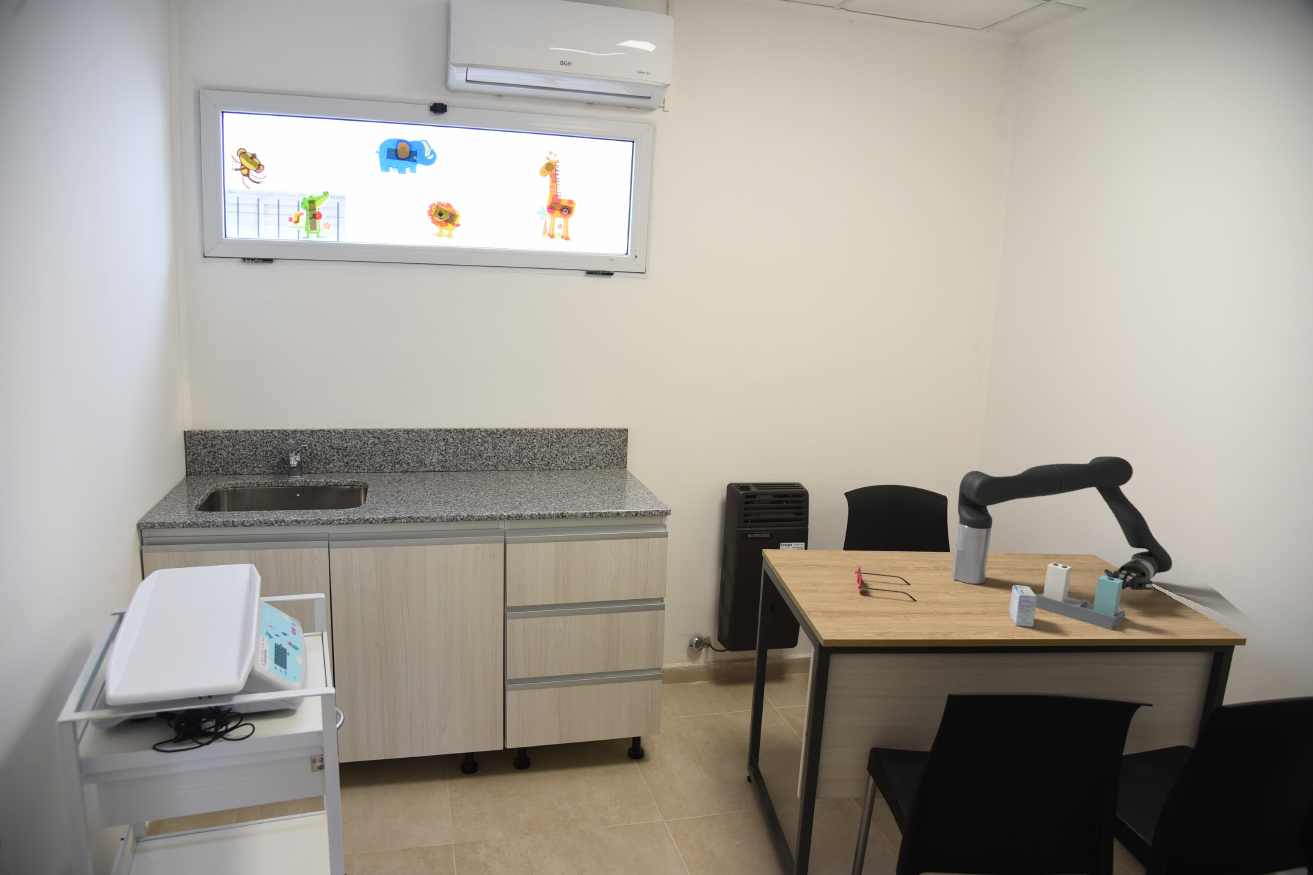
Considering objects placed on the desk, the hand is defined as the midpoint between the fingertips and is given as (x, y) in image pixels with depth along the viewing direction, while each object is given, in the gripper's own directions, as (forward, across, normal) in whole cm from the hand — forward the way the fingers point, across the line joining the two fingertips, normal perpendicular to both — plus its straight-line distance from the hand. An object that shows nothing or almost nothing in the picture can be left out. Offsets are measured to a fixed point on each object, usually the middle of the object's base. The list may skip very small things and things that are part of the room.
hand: (1118, 586), depth 221 cm
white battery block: (+9, -13, +6) cm, 17 cm away
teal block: (+9, 0, +6) cm, 11 cm away
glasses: (+38, -50, +8) cm, 63 cm away
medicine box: (+29, -15, +8) cm, 34 cm away
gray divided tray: (+9, -6, +8) cm, 14 cm away
